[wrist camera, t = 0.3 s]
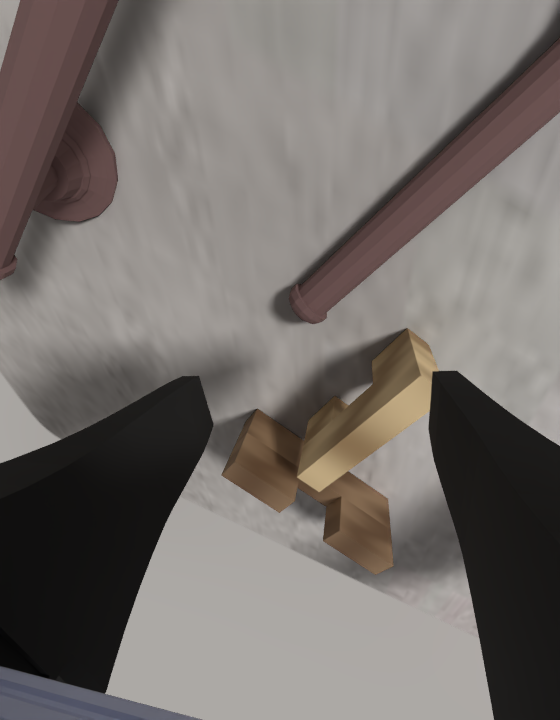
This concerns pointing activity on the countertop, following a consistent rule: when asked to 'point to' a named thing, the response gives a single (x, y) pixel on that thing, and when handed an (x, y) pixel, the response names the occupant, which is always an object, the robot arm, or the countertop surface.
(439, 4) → the countertop surface
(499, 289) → the countertop surface
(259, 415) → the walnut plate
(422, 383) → the light wooden block
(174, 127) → the countertop surface
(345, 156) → the countertop surface
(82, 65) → the toilet paper hanger
